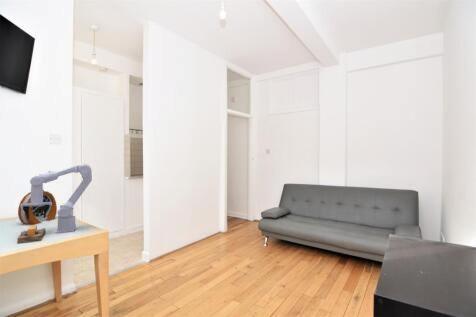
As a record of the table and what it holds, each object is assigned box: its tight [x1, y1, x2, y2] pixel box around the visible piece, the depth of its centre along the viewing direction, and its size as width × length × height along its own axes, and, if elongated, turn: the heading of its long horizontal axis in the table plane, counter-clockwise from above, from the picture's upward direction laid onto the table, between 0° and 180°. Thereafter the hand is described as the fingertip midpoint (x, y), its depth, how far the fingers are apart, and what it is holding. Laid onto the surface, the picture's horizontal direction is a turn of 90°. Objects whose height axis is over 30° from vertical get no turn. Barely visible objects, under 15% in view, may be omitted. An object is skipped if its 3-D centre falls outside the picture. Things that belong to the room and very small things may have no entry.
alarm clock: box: [17, 189, 58, 226], centre depth 173 cm, size 22×10×23 cm, turn 171°
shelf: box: [16, 228, 46, 245], centre depth 139 cm, size 10×15×5 cm, turn 32°
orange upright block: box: [27, 225, 38, 235], centre depth 139 cm, size 3×7×6 cm, turn 32°
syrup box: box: [59, 202, 74, 216], centre depth 167 cm, size 6×6×14 cm
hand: (36, 218), depth 147 cm, fingers open, 7 cm apart
